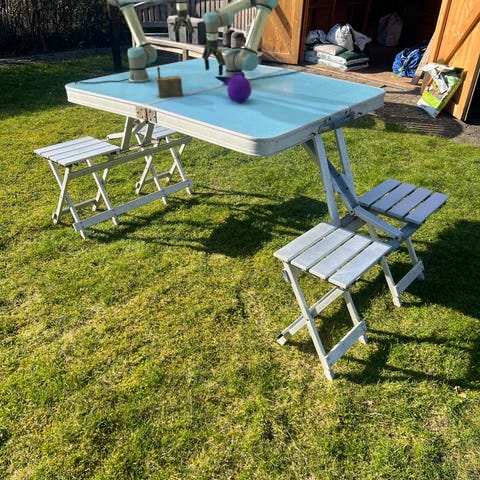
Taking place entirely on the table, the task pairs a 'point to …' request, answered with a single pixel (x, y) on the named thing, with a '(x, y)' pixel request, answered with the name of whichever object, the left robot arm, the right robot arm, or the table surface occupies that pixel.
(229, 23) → the right robot arm
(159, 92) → the chest
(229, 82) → the toy
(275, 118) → the table surface
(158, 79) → the lid
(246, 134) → the table surface
